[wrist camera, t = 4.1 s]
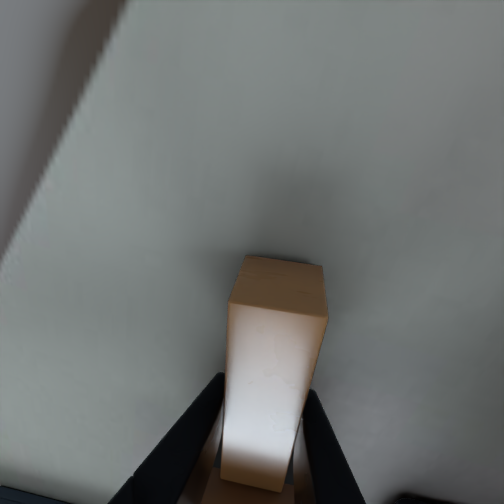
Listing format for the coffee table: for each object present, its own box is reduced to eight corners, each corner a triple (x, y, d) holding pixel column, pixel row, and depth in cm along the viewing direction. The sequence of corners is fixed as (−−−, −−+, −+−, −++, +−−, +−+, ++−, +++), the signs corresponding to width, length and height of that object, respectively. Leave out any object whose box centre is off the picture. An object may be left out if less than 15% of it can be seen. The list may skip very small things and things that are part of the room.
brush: (202, 247, 8) (144, 329, 5) (369, 272, 8) (414, 377, 5) (204, 469, 14) (178, 565, 11) (297, 491, 14) (296, 598, 11)
